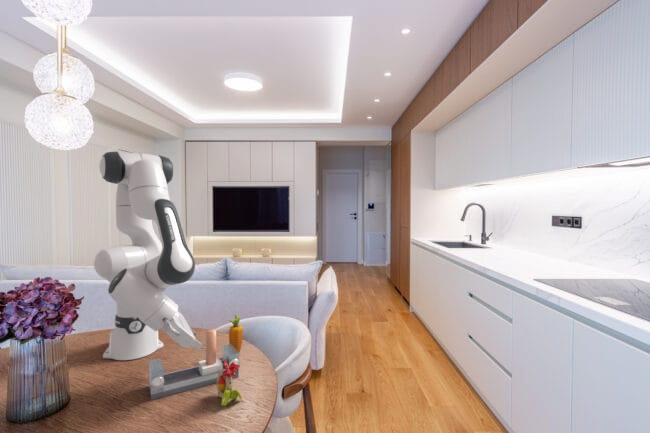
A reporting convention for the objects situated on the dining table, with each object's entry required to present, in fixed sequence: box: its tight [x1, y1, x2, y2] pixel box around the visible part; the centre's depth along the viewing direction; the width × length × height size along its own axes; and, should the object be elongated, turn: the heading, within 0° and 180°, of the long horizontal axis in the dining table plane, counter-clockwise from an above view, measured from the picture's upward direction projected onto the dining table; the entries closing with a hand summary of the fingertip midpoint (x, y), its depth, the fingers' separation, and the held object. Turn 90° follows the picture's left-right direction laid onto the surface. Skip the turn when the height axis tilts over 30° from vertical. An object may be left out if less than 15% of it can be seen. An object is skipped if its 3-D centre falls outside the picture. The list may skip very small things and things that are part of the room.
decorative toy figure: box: [216, 360, 243, 408], centre depth 87 cm, size 6×11×9 cm
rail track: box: [148, 344, 240, 401], centre depth 95 cm, size 8×24×8 cm, turn 123°
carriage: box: [198, 328, 223, 376], centre depth 98 cm, size 6×6×13 cm
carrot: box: [228, 314, 244, 354], centre depth 111 cm, size 5×5×15 cm
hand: (197, 341), depth 96 cm, fingers open, 8 cm apart
